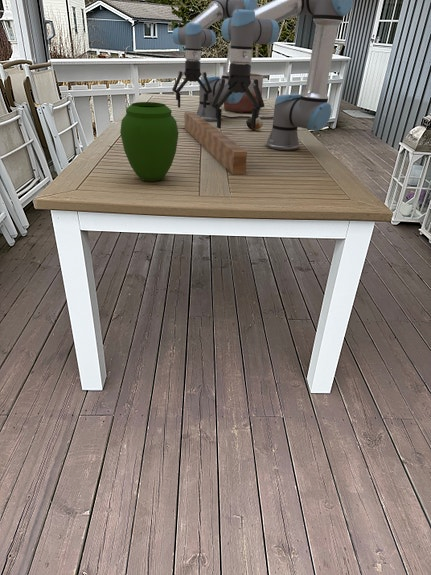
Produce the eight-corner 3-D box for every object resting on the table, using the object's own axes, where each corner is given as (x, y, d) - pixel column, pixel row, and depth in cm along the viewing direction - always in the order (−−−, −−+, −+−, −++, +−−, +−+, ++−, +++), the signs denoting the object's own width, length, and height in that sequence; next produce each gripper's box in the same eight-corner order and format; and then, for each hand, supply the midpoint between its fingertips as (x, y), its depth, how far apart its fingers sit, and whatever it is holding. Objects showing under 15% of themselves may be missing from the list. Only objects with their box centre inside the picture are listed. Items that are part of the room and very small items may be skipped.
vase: (131, 189, 135) (125, 110, 122) (118, 172, 150) (112, 100, 137) (186, 184, 142) (187, 109, 129) (169, 168, 157) (167, 99, 144)
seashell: (261, 129, 230) (262, 114, 225) (263, 131, 225) (265, 115, 221) (244, 128, 228) (245, 113, 224) (246, 131, 224) (247, 115, 219)
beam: (184, 128, 223) (184, 112, 218) (193, 128, 224) (193, 112, 220) (232, 174, 155) (234, 151, 151) (245, 174, 157) (247, 151, 152)
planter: (264, 113, 274) (268, 77, 262) (227, 113, 270) (229, 75, 258) (255, 107, 295) (258, 73, 283) (220, 106, 291) (222, 72, 279)
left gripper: (169, 59, 194) (169, 108, 205) (219, 62, 200) (217, 108, 212) (166, 58, 200) (166, 105, 211) (215, 61, 207) (213, 106, 218)
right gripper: (208, 63, 136) (206, 130, 147) (277, 65, 142) (270, 129, 153) (202, 61, 142) (201, 125, 153) (269, 63, 148) (263, 125, 159)
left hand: (191, 107), depth 211 cm, fingers open, 13 cm apart
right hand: (236, 127), depth 153 cm, fingers open, 13 cm apart
